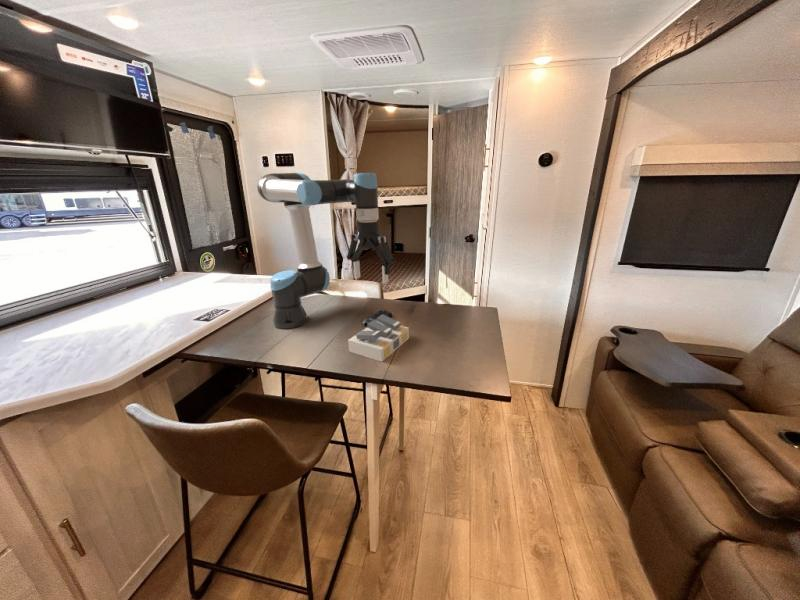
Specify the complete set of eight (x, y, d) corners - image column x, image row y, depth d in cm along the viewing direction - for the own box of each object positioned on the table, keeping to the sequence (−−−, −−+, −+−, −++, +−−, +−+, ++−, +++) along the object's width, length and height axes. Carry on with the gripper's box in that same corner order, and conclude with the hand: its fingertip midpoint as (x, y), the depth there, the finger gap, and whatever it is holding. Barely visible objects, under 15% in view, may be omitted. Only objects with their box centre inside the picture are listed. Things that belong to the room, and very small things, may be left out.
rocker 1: (357, 339, 116) (355, 334, 116) (363, 334, 120) (362, 330, 119) (376, 339, 112) (374, 335, 111) (382, 335, 115) (381, 330, 114)
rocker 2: (367, 327, 121) (367, 323, 120) (372, 323, 124) (373, 319, 123) (386, 337, 117) (386, 333, 117) (391, 332, 121) (392, 328, 120)
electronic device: (376, 317, 152) (358, 325, 139) (378, 307, 150) (360, 314, 137) (392, 323, 148) (376, 332, 135) (394, 312, 146) (378, 320, 133)
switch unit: (349, 351, 119) (347, 337, 117) (378, 330, 135) (378, 317, 132) (382, 362, 111) (381, 346, 109) (409, 338, 127) (409, 324, 125)
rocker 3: (376, 321, 126) (377, 317, 125) (382, 317, 129) (382, 313, 128) (395, 330, 123) (395, 326, 122) (400, 326, 126) (400, 322, 125)
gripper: (333, 220, 110) (339, 278, 118) (392, 224, 99) (393, 288, 107) (347, 218, 116) (351, 273, 124) (403, 221, 105) (404, 282, 113)
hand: (371, 280), depth 115 cm, fingers open, 12 cm apart
